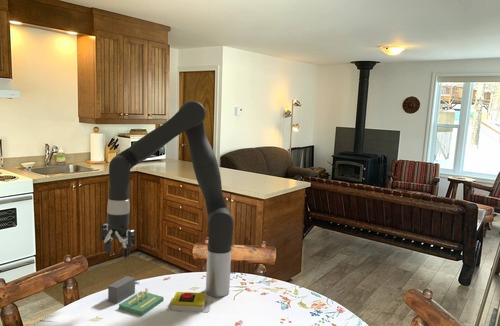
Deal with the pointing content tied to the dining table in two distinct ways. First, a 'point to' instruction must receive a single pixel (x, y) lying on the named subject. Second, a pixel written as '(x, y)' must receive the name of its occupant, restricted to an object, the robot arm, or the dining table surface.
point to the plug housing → (121, 289)
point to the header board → (141, 302)
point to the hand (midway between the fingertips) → (117, 254)
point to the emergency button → (189, 302)
